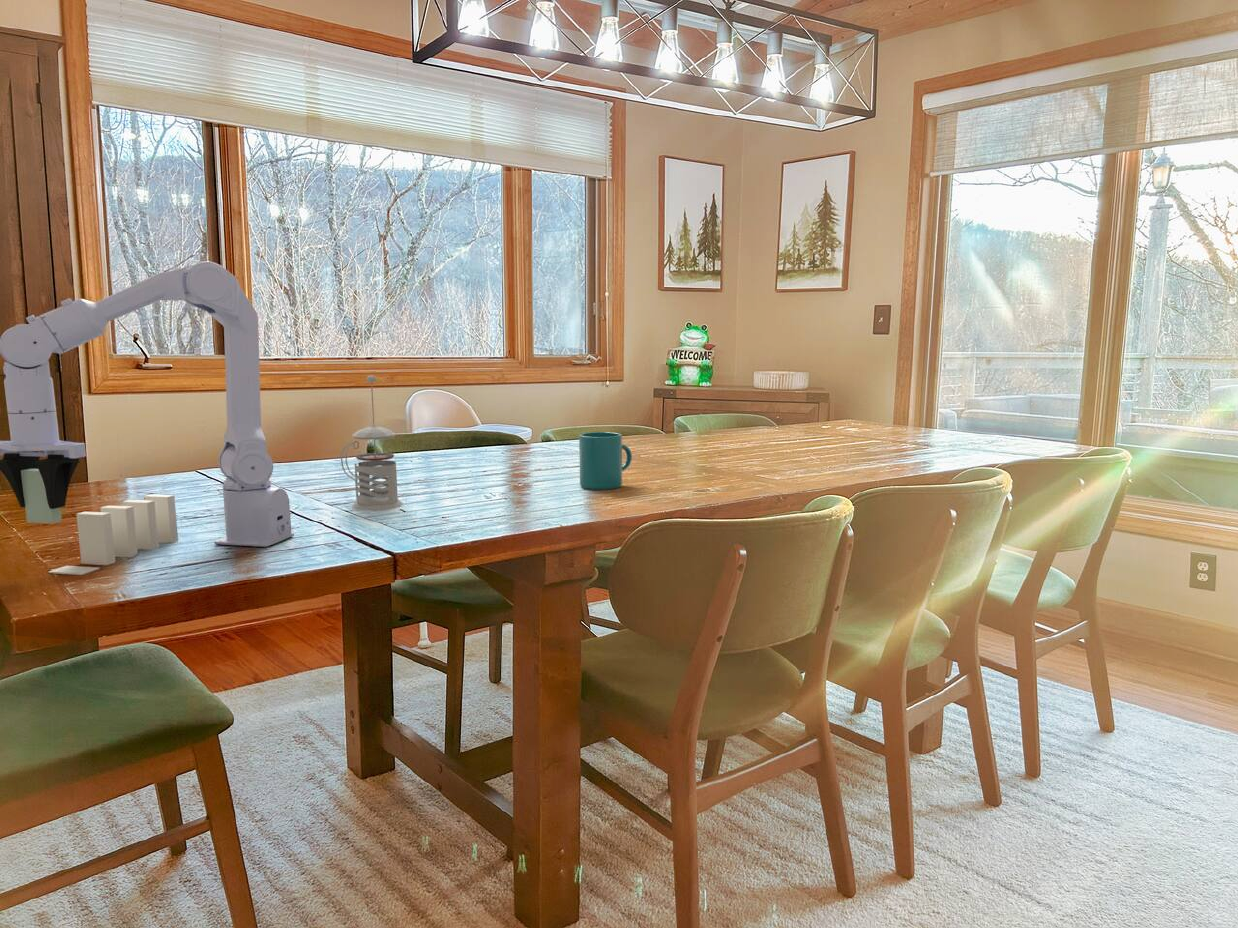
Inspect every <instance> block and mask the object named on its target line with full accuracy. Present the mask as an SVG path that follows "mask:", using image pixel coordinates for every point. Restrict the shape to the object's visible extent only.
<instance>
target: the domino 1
mask: <svg viewBox="0 0 1238 928" xmlns="http://www.w3.org/2000/svg"><path fill="white" fill-rule="evenodd" d="M21 477H22V485H23V494H24V500H25V507H24V510H25V518H26V520H25V521H26V523H34V524H35V523H36V524H56V523H60V522H63V520H62V519H63V518H62V511H61V510H62V509H61V508H62V507H59V508H55V509H50V508H49V505H48V502H47V497H46V491H45V485H44V482H43V479H42V476H41V474H40V472H39V470H38V468H37V469H26V470H21Z"/></svg>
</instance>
